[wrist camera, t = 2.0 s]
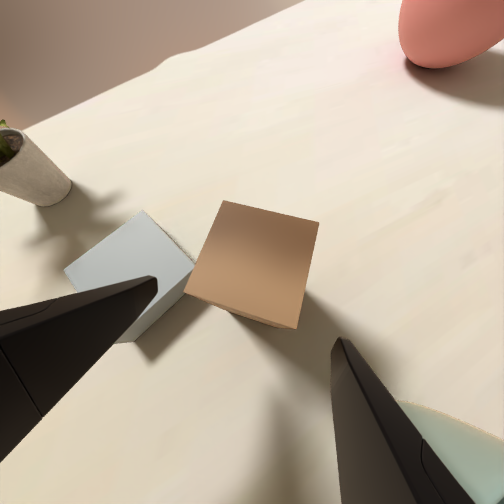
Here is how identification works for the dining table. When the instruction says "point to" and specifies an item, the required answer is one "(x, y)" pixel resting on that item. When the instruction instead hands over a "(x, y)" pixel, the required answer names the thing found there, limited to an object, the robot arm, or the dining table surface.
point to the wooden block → (255, 264)
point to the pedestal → (135, 267)
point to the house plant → (29, 170)
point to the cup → (463, 451)
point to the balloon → (449, 30)
